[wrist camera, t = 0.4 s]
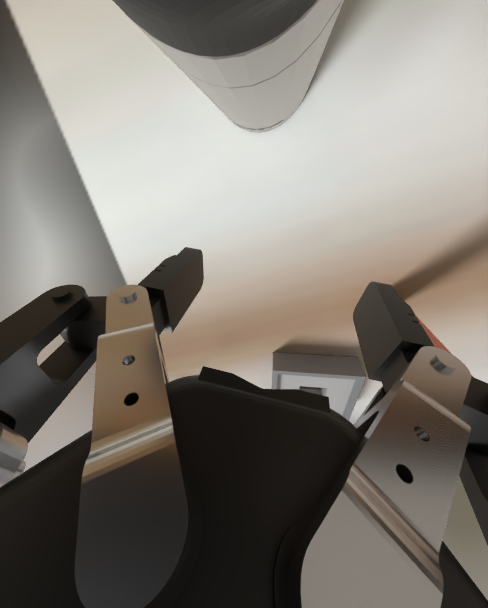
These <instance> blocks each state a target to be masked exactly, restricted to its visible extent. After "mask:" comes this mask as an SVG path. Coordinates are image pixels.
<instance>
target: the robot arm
mask: <svg viewBox="0 0 488 608" xmlns="http://www.w3.org/2000/svg"><path fill="white" fill-rule="evenodd" d="M113 1H114V2H115V3H116V4H117V5H118V6H119V7H120V8H121V9H122V10H123V11H124V12H125V14H126V15H127V16H128V17H129V18H130V19H131V20H132V21H133V22H134V23H135V24H136V25H137V26H138V27H139V28H140V29H141V30H142V31H143V32H144V33H145V34H146V35H147V36H148V37H149V38H150V39H151V40H152V41H153V42H154V43H155V44H156V45H157V46H158V47H159V48H160V49H161V50H162V51H163V53H164V54H165V55H166V56H167V57H169V58H170V59H171V60H172V61H173V62H174V63H175V64H176V65H177V66H178V67H179V68H180V69H181V70H182V71H183V72H184V73H185V74H186V76H187V77H188V78H189V79H190V80H191V81H192V82H193V83H194V84H195V85H196V86H197V87H198V88H199V89H200V90H201V91H202V92H203V93H204V94H205V95H206V96H207V97H208V98H209V99H210V100H211V101H212V102H213V103H214V104H215V105H216V106H217V107H218V108H219V109H220V110H221V111H222V112H223V113H224V114H225V115H226V116H227V117H228V118H229V119H230V120H231V121H232V122H233V123H234V124H236V125H237V126H239V127H240V128H242V129H245V130H248V131H251V132H264V131H269V130H272V129H274V128H276V127H278V126H280V125H281V124H283V123H284V122H285V121H286V120H288V119H289V118H290V117H291V116H292V114H293V113H294V112H295V111H296V110H297V108H298V107H299V105H300V103H301V102H302V100H303V98H304V97H305V95H306V92H307V90H308V87H309V85H310V82H311V80H312V78H313V76H314V73H315V71H316V68H317V66H318V64H319V61H320V59H321V56H322V54H323V51H324V49H325V46H326V44H327V41H328V39H329V37H330V34H331V32H332V29H333V27H334V24H335V22H336V19H337V17H338V14H339V12H340V9H341V7H342V5H343V2H344V0H113ZM203 279H204V275H203V255H202V251H201V250H199V249H193V248H188V247H185V248H184V249H183V250H182V251H181V252H180V253H179V254H178V255H177V256H176V255H174V256H171V257H169V258H167V259H165V260H164V261H163V262H162V263H161V264H160V265H159V266H157V267H156V268H155V269H154V270H153V271H152V272H151V273H150V274H149V275H148V276H147V277H145V278H144V279H143V280H142V281H141V282H140V283H139V284H138V285H126V286H122V287H119V288H116V289H115V290H113V291H111V292H110V293H109V295H108V296H102V297H101V296H100V297H88V295H87V293H86V291H85V289H84V288H83V287H81V286H78V285H64V286H59V287H56V288H53V289H50V290H49V291H47V292H45V293H43V294H42V295H40V296H39V297H37V298H36V299H34V300H33V301H32V302H30V303H29V304H27V305H25V306H24V307H23V308H21V309H20V310H18V311H17V312H15V313H14V314H12V315H11V316H9V317H8V318H6V319H5V320H3V321H2V322H0V608H488V601H487V599H486V598H485V597H484V596H483V594H482V593H481V591H480V590H479V589H478V587H477V586H476V585H475V583H474V582H473V581H472V579H471V578H470V577H469V575H468V574H467V573H466V571H465V570H464V569H463V567H462V566H461V565H460V563H459V562H458V561H457V559H456V558H455V557H454V555H453V554H452V553H451V551H450V550H449V549H448V547H447V546H446V545H445V543H444V542H443V541H442V539H443V535H444V531H445V527H446V523H447V520H448V516H449V512H450V508H451V504H452V501H453V496H454V493H455V489H456V485H457V481H458V478H459V476H460V478H461V481H462V483H463V486H464V488H465V491H466V493H467V496H468V498H469V500H470V503H471V505H472V508H473V510H474V513H475V515H476V518H477V520H478V522H479V525H480V528H481V530H482V532H483V535H484V537H485V540H486V542H487V545H488V383H485V382H483V381H480V380H478V379H476V378H473V377H471V374H470V372H469V370H468V368H467V367H466V366H465V365H464V364H463V363H462V362H461V361H460V360H459V359H458V358H456V357H455V356H454V355H452V354H450V353H449V352H447V351H445V350H442V349H440V348H437V347H435V346H434V345H433V343H432V341H431V340H430V338H429V336H428V335H427V333H426V331H425V330H424V328H423V327H422V325H421V324H419V320H418V318H417V317H416V316H415V314H414V312H413V310H412V309H411V307H410V306H409V305H408V304H407V303H406V302H405V301H403V300H402V299H401V298H399V297H398V295H397V294H396V292H395V290H394V289H393V287H392V285H389V284H384V283H378V282H371V283H369V285H368V286H367V288H366V289H365V291H364V293H363V295H362V297H361V298H360V300H359V302H358V304H357V305H356V307H355V310H354V313H353V321H354V325H355V328H356V332H357V336H358V340H359V343H360V347H361V351H362V355H363V358H364V362H365V366H366V369H367V373H368V377H369V379H372V380H376V381H381V382H382V384H383V387H382V388H381V389H380V390H379V391H378V392H377V393H376V395H375V396H374V398H373V399H372V401H371V402H370V403H369V405H368V406H367V408H366V409H365V411H364V412H363V413H362V415H361V416H360V418H359V419H358V420H357V422H356V423H355V424H354V425H353V424H352V423H350V422H349V421H348V420H347V419H346V418H344V417H343V416H342V415H340V414H339V413H337V412H336V411H334V410H332V409H330V404H329V397H327V396H323V395H318V394H314V393H310V392H306V391H302V390H298V389H262V388H259V387H257V386H256V385H254V384H252V383H250V382H248V381H246V380H244V379H242V378H240V377H238V376H236V375H234V374H232V373H228V372H224V371H220V370H216V369H212V368H208V367H204V366H203V368H202V370H201V373H200V375H194V376H187V377H183V378H179V379H176V380H173V381H171V382H169V378H168V374H167V369H166V365H165V360H164V355H163V351H162V346H161V341H160V337H159V335H160V334H161V332H162V331H167V332H171V333H172V332H173V331H174V329H175V328H176V326H177V324H178V323H179V321H180V320H181V318H182V317H183V315H184V314H185V312H186V311H187V309H188V308H189V306H190V305H191V303H192V301H193V300H194V298H195V297H196V295H197V294H198V292H199V291H200V289H201V287H202V284H203ZM59 334H60V335H61V336H62V337H63V339H64V340H65V342H64V343H63V344H62V345H61V346H60V347H58V348H57V349H56V350H55V352H53V353H52V354H51V355H50V356H49V357H48V358H47V359H46V360H45V361H44V362H43V363H42V364H41V365H40V366H38V365H37V357H38V355H39V353H40V351H41V350H42V349H43V348H44V347H46V346H47V345H48V344H49V343H50V342H51V341H52V340H53V339H54V338H56V337H57V336H58V335H59ZM95 361H96V373H95V391H94V407H93V424H92V430H91V431H89V432H88V433H86V434H84V435H83V436H81V437H80V438H78V439H76V440H75V441H73V442H71V443H70V444H68V445H67V446H65V447H63V448H62V449H60V450H59V451H57V452H55V453H54V454H53V455H51V456H49V457H47V458H46V459H44V460H43V461H41V462H39V463H38V464H36V465H35V466H33V467H31V468H30V469H28V470H27V471H25V472H23V471H24V469H25V461H24V458H25V456H26V453H27V448H28V443H29V442H30V440H31V439H32V438H33V437H34V435H35V434H36V433H37V432H38V431H39V429H40V428H41V427H42V426H43V424H44V423H45V422H46V421H47V420H48V418H49V417H50V416H51V415H52V414H53V412H54V411H55V410H56V409H57V407H58V406H59V405H60V404H61V403H62V401H63V400H64V399H65V398H66V397H67V395H68V394H69V393H70V391H71V390H72V389H73V388H74V387H75V386H76V384H77V383H78V382H79V381H80V380H81V378H82V377H83V376H84V375H85V373H86V372H87V371H88V370H89V369H90V367H91V366H92V365H93V364H94V363H95ZM22 472H23V473H22Z"/></svg>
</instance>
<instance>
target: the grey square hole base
mask: <svg viewBox="0 0 488 608" xmlns="http://www.w3.org/2000/svg"><path fill="white" fill-rule="evenodd" d="M365 379H366V375H365V373H364V371H363V368H362V366H361V364H360V361H359V359H358V357H345V356H328V355H311V354H294V353H277V352H273V372H272V389H298V390H302V391H306V392H310V393H314V394H318V395H323V396H327V397H329V404H330V409H332V410H334V411H336V412H337V413H339V414H340V415H342V416H343V417H344V418H346V419H347V420H348V421H349V418H350V416H351V413H352V411H353V409H354V406H355V404H356V401H357V399H358V396H359V394H360V391H361V389H362V386H363V384H364V381H365ZM300 386H306V387H319V388H321V389H307V388H299V387H300Z"/></svg>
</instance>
